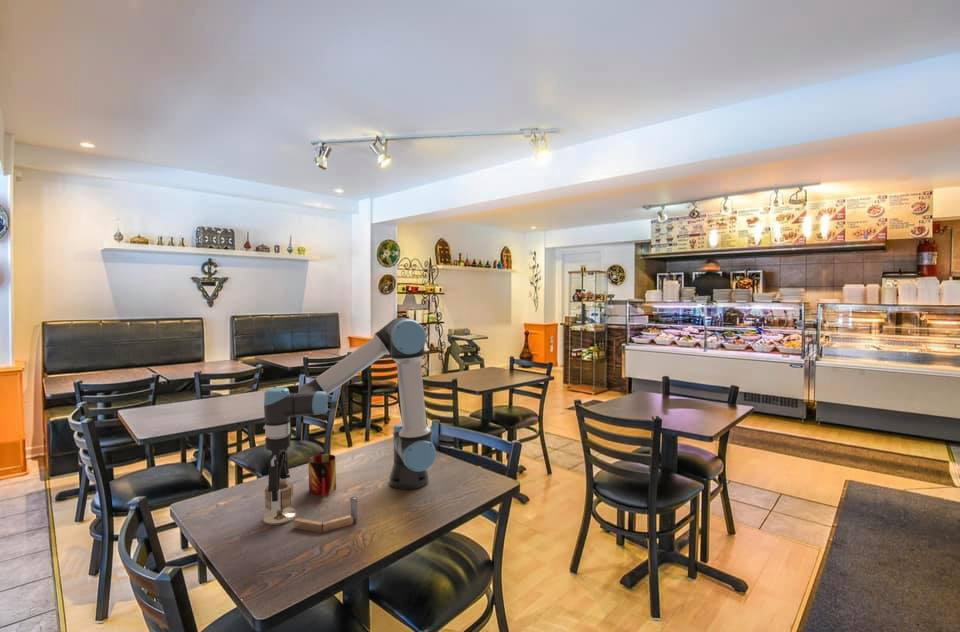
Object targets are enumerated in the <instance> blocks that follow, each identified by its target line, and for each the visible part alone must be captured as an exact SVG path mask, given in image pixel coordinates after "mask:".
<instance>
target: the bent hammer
mask: <svg viewBox="0 0 960 632" xmlns="http://www.w3.org/2000/svg"><path fill="white" fill-rule="evenodd" d="M349 500H350V504H349V505H350V514H349V515H344V516H342V517H338V518H337V517H336V518H335V519H329V520H326V521H317V520H311V519H306V518H305V519H304V518H300V517H295V519H293V529H297V530H298V529H299V530H304V531H311V532H316V533H326V532H328V531H333V530H335V529H340V528H343V527H344V528H345V527H347V526H351V525H355V524H357V523H358V498H357V496H351V497H350V499H349Z"/></svg>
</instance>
